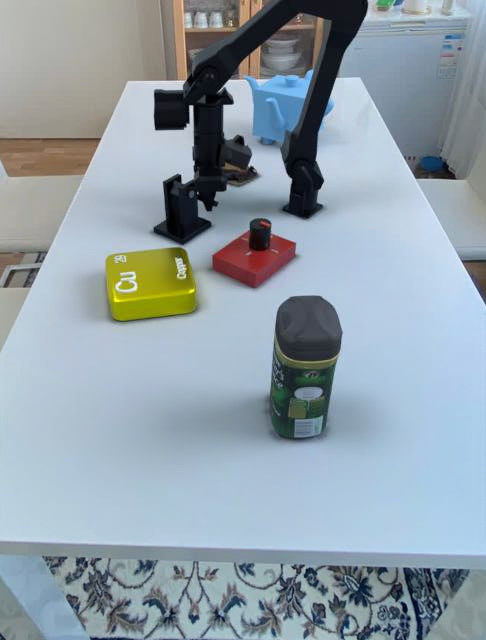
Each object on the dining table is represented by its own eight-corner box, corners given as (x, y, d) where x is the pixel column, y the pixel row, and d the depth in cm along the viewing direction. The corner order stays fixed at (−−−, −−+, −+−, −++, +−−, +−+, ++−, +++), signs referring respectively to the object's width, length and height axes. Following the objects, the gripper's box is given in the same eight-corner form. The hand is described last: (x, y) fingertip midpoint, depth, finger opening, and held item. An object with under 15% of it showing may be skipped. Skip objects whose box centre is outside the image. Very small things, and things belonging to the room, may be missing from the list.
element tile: (198, 312, 97) (197, 289, 94) (111, 323, 96) (107, 300, 92) (186, 265, 107) (185, 242, 104) (107, 274, 106) (103, 251, 102)
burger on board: (204, 174, 133) (203, 158, 131) (228, 162, 137) (228, 147, 134) (237, 188, 128) (237, 172, 125) (261, 175, 132) (262, 159, 129)
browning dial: (244, 246, 106) (245, 222, 102) (257, 237, 108) (258, 214, 104) (261, 253, 104) (263, 229, 100) (274, 244, 106) (276, 220, 102)
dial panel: (253, 240, 113) (253, 225, 110) (295, 256, 108) (296, 242, 106) (212, 269, 106) (212, 254, 104) (255, 288, 102) (255, 273, 99)
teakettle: (333, 150, 141) (342, 85, 130) (261, 158, 138) (264, 93, 127) (307, 122, 153) (313, 60, 142) (240, 129, 150) (242, 67, 140)
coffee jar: (265, 392, 84) (273, 288, 70) (318, 391, 84) (336, 286, 70) (271, 443, 77) (281, 339, 64) (329, 441, 77) (351, 337, 64)
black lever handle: (196, 202, 120) (200, 191, 119) (216, 210, 118) (220, 199, 117) (163, 190, 110) (167, 178, 110) (184, 198, 108) (188, 185, 107)
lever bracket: (182, 215, 120) (179, 167, 113) (211, 226, 117) (210, 178, 109) (153, 232, 116) (148, 183, 108) (183, 245, 112) (179, 195, 105)
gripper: (255, 145, 101) (251, 227, 112) (245, 112, 115) (243, 187, 126) (193, 147, 101) (195, 228, 112) (191, 113, 114) (193, 189, 125)
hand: (208, 207), depth 119 cm, fingers closed on black lever handle, 3 cm apart
